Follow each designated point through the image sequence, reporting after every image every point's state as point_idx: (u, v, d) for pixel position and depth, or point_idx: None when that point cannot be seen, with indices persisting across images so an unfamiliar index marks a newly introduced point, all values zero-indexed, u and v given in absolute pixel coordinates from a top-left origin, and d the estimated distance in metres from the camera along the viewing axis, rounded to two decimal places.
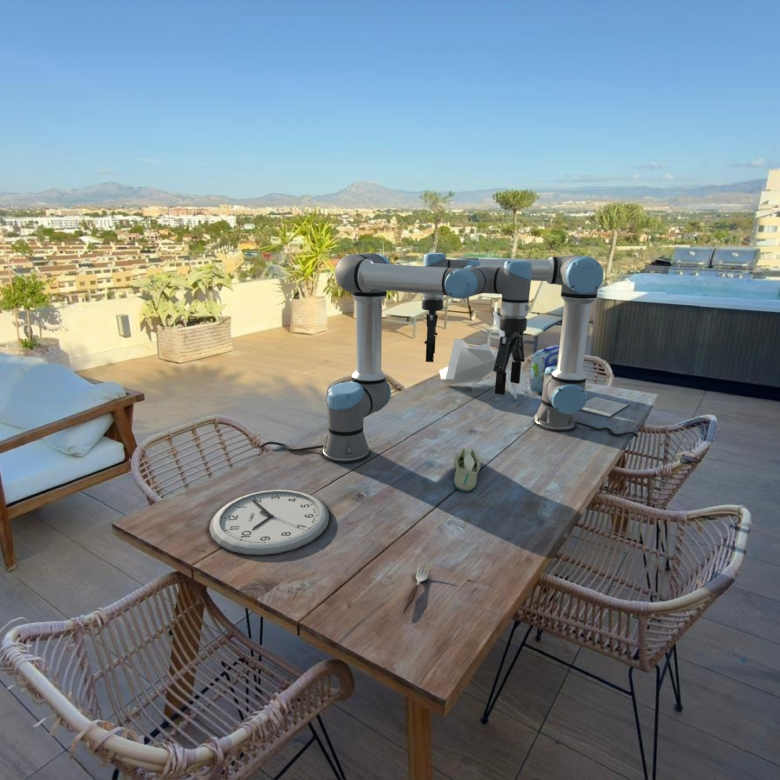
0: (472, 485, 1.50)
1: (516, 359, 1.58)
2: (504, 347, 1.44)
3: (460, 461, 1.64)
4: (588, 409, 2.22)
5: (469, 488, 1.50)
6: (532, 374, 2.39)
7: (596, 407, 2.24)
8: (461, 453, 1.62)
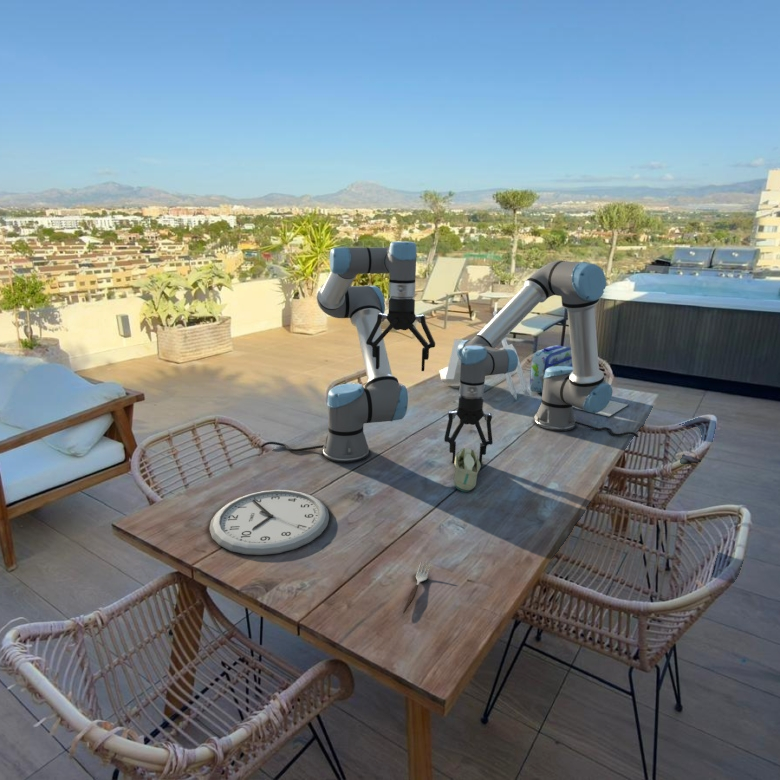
0: (472, 485, 1.50)
1: None
2: (376, 322, 1.52)
3: (460, 461, 1.64)
4: None
5: (469, 488, 1.50)
6: (532, 374, 2.39)
7: None
8: (461, 453, 1.62)
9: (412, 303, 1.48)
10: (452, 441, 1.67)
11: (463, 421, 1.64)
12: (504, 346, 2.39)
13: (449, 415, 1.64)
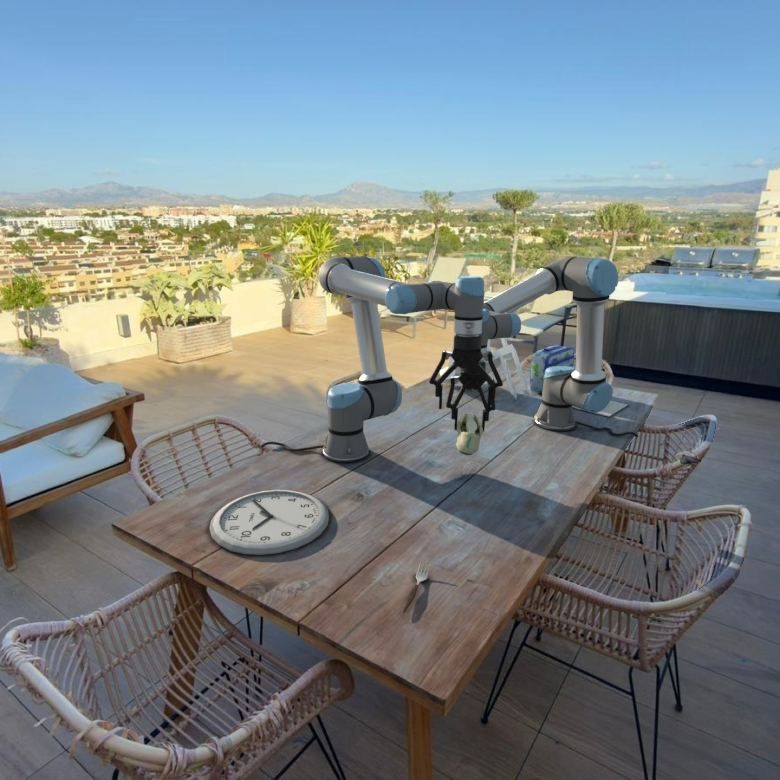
0: (475, 448, 1.47)
1: None
2: (440, 361, 1.45)
3: (462, 427, 1.61)
4: None
5: (472, 451, 1.47)
6: (532, 374, 2.39)
7: None
8: (463, 418, 1.59)
9: (479, 341, 1.40)
10: (454, 407, 1.63)
11: (465, 386, 1.60)
12: (504, 346, 2.39)
13: (451, 380, 1.61)
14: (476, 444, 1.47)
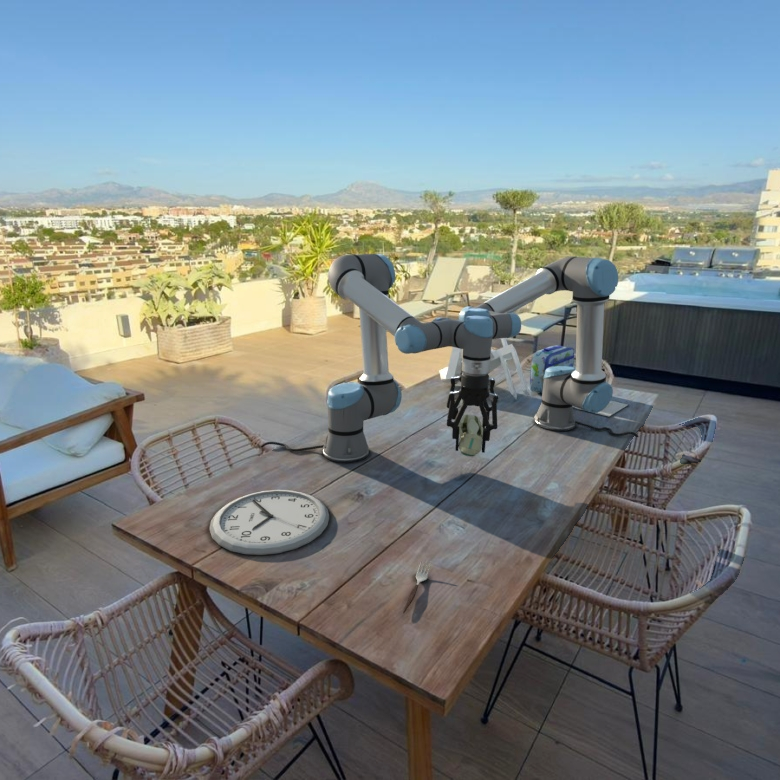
0: (477, 449, 1.47)
1: None
2: (450, 402, 1.47)
3: (463, 428, 1.61)
4: None
5: (474, 453, 1.47)
6: (532, 374, 2.39)
7: None
8: (464, 419, 1.59)
9: (487, 380, 1.42)
10: (454, 407, 1.63)
11: None
12: (504, 346, 2.39)
13: (451, 380, 1.61)
14: (478, 445, 1.47)
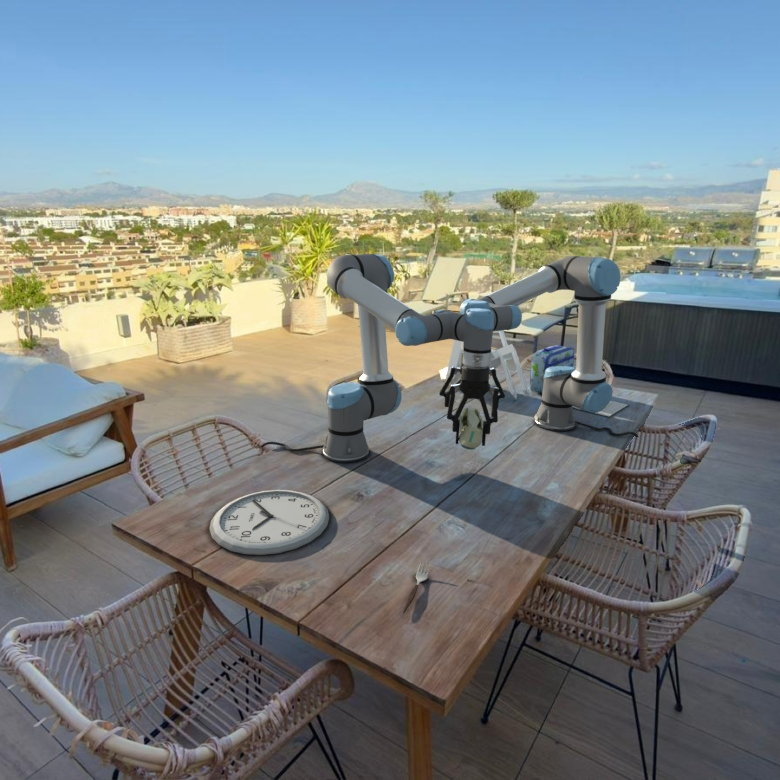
0: (478, 443, 1.46)
1: None
2: (450, 395, 1.46)
3: (463, 421, 1.60)
4: None
5: (475, 446, 1.47)
6: (532, 374, 2.39)
7: None
8: (464, 412, 1.58)
9: (487, 373, 1.42)
10: (447, 395, 1.63)
11: None
12: (504, 346, 2.39)
13: (452, 370, 1.60)
14: (479, 438, 1.46)
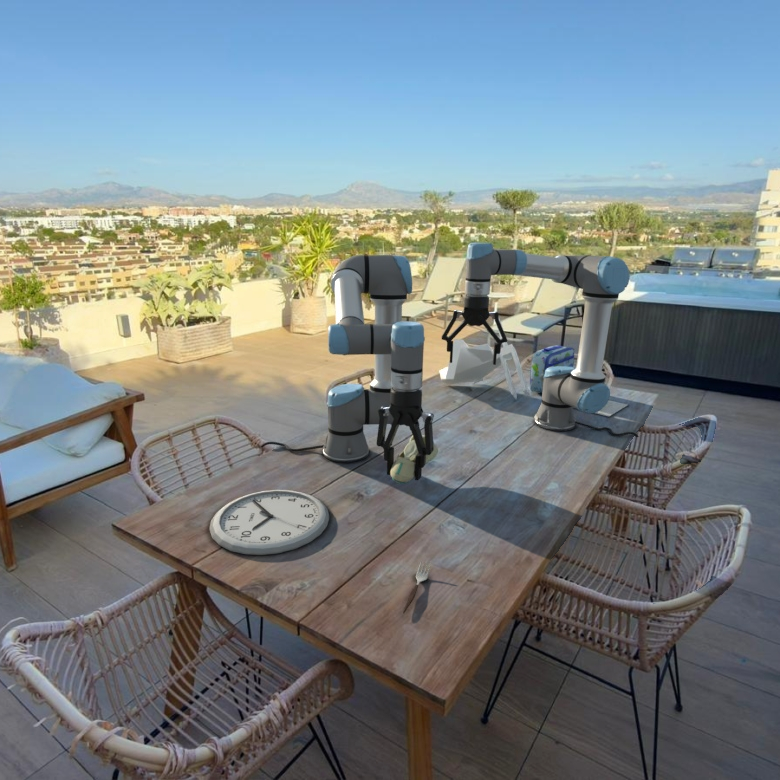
0: (407, 476, 1.27)
1: None
2: None
3: None
4: None
5: (403, 479, 1.27)
6: (532, 374, 2.39)
7: None
8: (411, 440, 1.39)
9: (416, 397, 1.22)
10: (450, 339, 1.63)
11: (467, 321, 1.60)
12: (504, 346, 2.39)
13: (454, 313, 1.60)
14: (408, 471, 1.27)
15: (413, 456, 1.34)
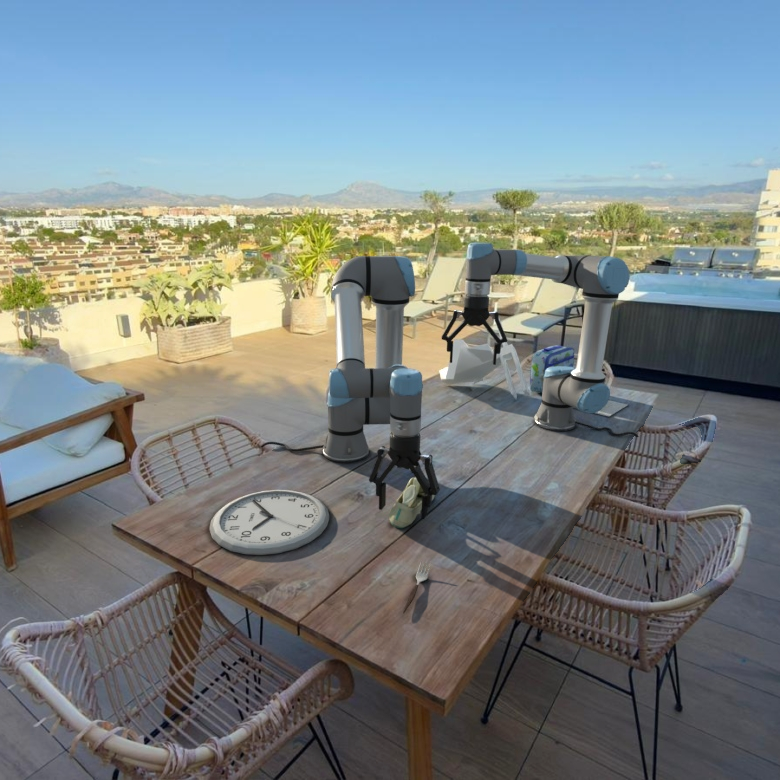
0: (405, 522, 1.31)
1: None
2: None
3: None
4: None
5: (402, 525, 1.31)
6: (532, 374, 2.39)
7: None
8: (410, 483, 1.43)
9: (414, 442, 1.25)
10: (450, 339, 1.63)
11: (467, 321, 1.60)
12: (504, 346, 2.39)
13: (454, 313, 1.60)
14: (407, 517, 1.31)
15: (411, 500, 1.38)
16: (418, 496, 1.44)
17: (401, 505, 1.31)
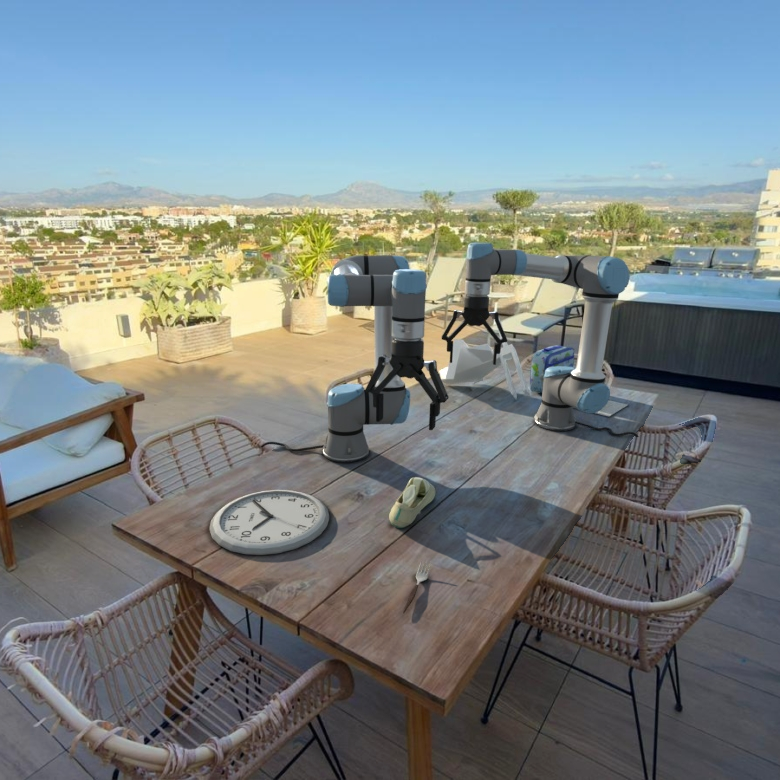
0: (405, 522, 1.31)
1: None
2: None
3: None
4: None
5: (402, 525, 1.31)
6: (532, 374, 2.39)
7: None
8: (410, 483, 1.43)
9: (418, 346, 1.18)
10: (450, 339, 1.63)
11: (467, 321, 1.60)
12: (504, 346, 2.39)
13: (454, 313, 1.60)
14: (407, 517, 1.31)
15: (411, 500, 1.38)
16: (418, 496, 1.44)
17: (401, 505, 1.31)
